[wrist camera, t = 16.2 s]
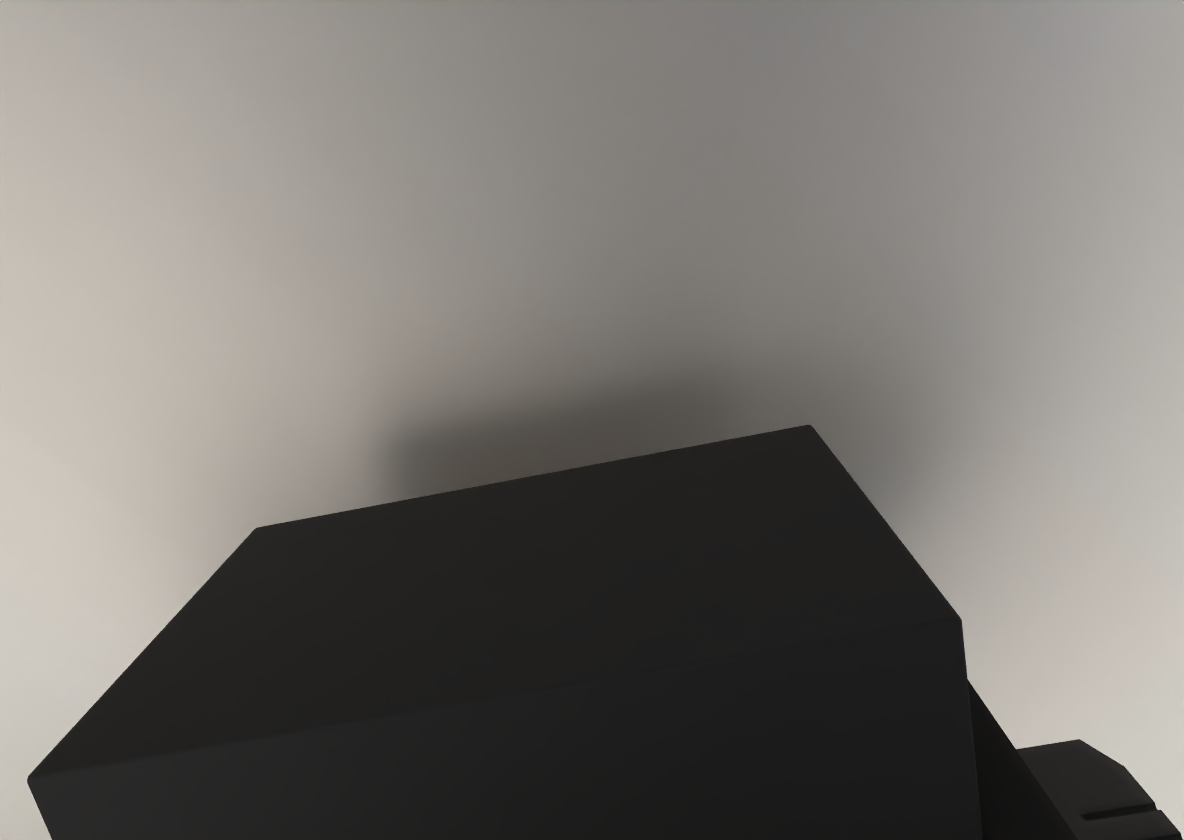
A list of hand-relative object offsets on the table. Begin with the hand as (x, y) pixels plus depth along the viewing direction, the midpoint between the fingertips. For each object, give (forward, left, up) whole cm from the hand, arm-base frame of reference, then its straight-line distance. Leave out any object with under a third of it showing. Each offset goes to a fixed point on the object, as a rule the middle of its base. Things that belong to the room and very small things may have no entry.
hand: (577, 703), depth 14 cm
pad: (0, +2, 0) cm, 2 cm away
